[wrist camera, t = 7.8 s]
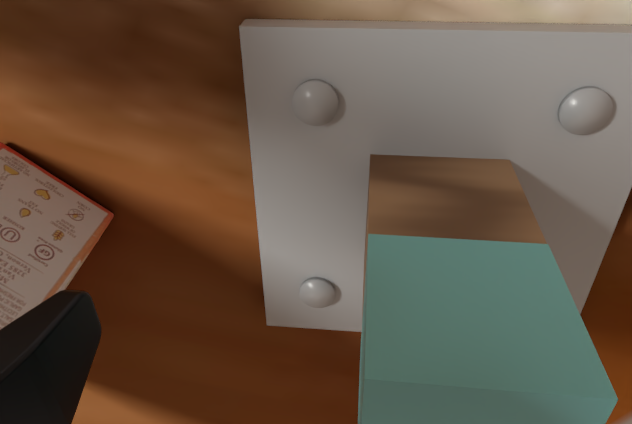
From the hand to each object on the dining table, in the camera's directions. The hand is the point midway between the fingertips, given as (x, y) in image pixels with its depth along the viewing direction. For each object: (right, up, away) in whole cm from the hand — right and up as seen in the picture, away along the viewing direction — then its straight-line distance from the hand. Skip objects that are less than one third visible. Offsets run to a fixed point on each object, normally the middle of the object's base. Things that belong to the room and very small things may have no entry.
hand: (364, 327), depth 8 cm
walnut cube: (+4, +2, +12) cm, 13 cm away
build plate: (+4, +2, +13) cm, 13 cm away
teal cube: (+3, -1, +8) cm, 8 cm away
